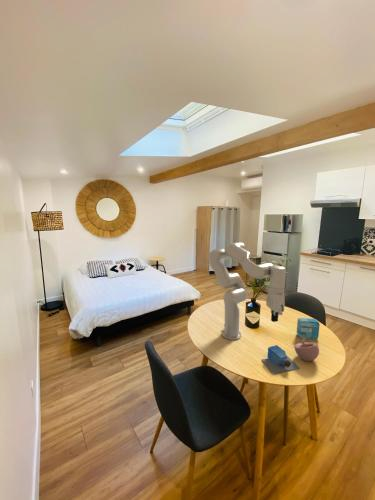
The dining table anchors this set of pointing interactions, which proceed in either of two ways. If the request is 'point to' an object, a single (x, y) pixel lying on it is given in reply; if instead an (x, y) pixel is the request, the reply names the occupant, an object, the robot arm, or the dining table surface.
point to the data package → (308, 328)
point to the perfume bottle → (278, 356)
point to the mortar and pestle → (307, 350)
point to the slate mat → (279, 366)
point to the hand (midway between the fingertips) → (274, 320)
